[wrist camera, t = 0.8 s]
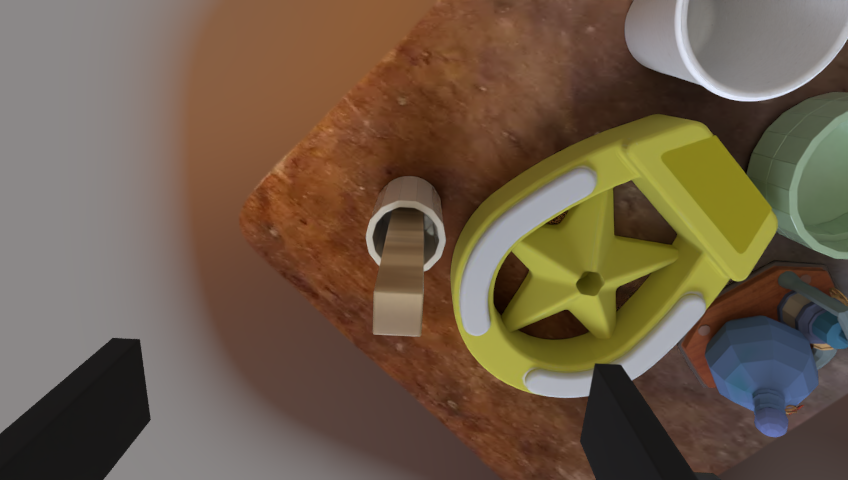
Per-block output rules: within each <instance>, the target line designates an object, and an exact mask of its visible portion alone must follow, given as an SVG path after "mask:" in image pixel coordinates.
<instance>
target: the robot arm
mask: <svg viewBox="0 0 848 480" xmlns="http://www.w3.org/2000/svg"><path fill="white" fill-rule="evenodd" d="M150 420H151V419H150V412H149V404H148V397H147V390H146V382H145V375H144V367H143V360H142V352H141V345H140V340H139V339H122V338H112V339H111V340H110V341H109V342H108V343H106V344H105V345H104V346H103V347H102V348H100V349H99V350H98V351H97V352H96V353H95V354H93V355H92V356H91V357H90V358H89V359H88V360H86V361H85V362H84V363H83V364H82V365H80V366H79V367H78V368H77V369H76V370H75V371H73V372H72V373H71V374H70V375H69V376H68V377H66V378H65V379H64V380H63V381H62V382H60V384H58V385H57V386H56V387H55V388H54V389H52V390H51V391H50V392H49V393H48V394H46V395H45V396H44V397H43V398H42V399H41V400H39V401H38V402H37V403H36V404H35V405H33V406H32V407H31V408H30V409H29V410H28V411H26V412H25V413H24V414H23V415H22V416H20V417H19V418H18V419H17V420H16V421H15V422H14V423H12V424H11V425H10V426H9V427H8V428H6V429H5V430H4V431H3V432H2V433H1V434H0V480H103V479H104V478H105V477H106V476H107V474H108V473H109V472H110V471H111V469H112V468H113V467H114V466H115V464H116V463H117V462H118V460H119V459H120V458H121V457H122V455H123V454H124V453H125V452H126V450H127V449H128V448H129V447H130V445H131V444H132V443H133V441H134V440H135V439H136V438H137V436H138V435H139V434H140V433H141V431H142V430H143V429H144V427H145V426H146V425H147V424H148V422H149V421H150ZM580 442H581V445H582V447H583V449H584V452H585V454H586V456H587V459H588V461H589V463H590V466H591V468H592V471H593V473H594V475H595V478H596V480H721V479H719V478H718V477H717V476H716V475H715V474H714V473H697V472H693V471H692V469H691V468H690V466H689V465H688V463H687V462H686V461H685V459H684V458H683V456H682V455H681V453H680V452H679V450H678V449H677V447H676V446H675V444H674V443H673V441H672V440H671V438H670V437H669V435H668V434H667V432H666V431H665V429H664V428H663V426H662V425H661V423H660V422H659V420H658V419H657V417H656V416H655V414H654V413H653V411H652V410H651V408H650V407H649V405H648V404H647V403H646V401H645V400H644V398H643V397H642V395H641V394H640V392H639V391H638V389H637V388H636V386H635V385H634V383H633V382H632V380H631V379H630V377H629V376H628V374H627V373H626V371H625V370H624V368H623V367H622V365H618V364H599V363H595V365H594V371H593V376H592V381H591V387H590V392H589V397H588V402H587V408H586V413H585V418H584V423H583V429H582V434H581V439H580Z"/></svg>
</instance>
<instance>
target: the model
mask: <svg viewBox="0 0 848 480" xmlns="http://www.w3.org/2000/svg"><path fill="white" fill-rule="evenodd" d="M844 301H846V302H847V304H848V299H847V298H846V297H845V296H844V295H843V294H842V293H841V292H840V291H839V290H837V289H836V287H835V285H834V282H833V280H832V278H831V275H830V273H829V271H828V269H827V266H826V265H824V264H812V263H798V262H784V261H773V262H771V263H769V264H767V265H765V266H764V267H762V268H760V269H758V270H756V271H754V272H752V273H751V274H749V276H748V277H747V278H746V279H745V280H743V281H738V282H737V281H736V282H734V283H732V284H730V285H728V286H727V287H725V288H723V289H722V291H721V292H720V293H719V294H718V296H717V297H716V298H715V299H714V301H713V302H712V303H711V305H710V306H709V307H708V308H707V310H706V311H705V313H704V314H703V316H702V317H701V318H700V319H699V320H698V321H697V322H696V324H695V325H694V326H693V327H692V328H691V329H690V330H689V331H688V332H687V333H686V334H685V335H684V336H683V338H682V339H681V340H680V341H679V342H678V343H677V345H678V347H679V349H680V351H681V353H682V354H683V356H684V358H685V360H686V362H687V364H688V365H689V367H690V369H691V370H692V372H693V373H694V374H695V376H696V377H697V379H698V380H699V382H700V383H701V385H702V386H703V387H712V388H718V390H719V393H720V394H721V395H723V396H725V397H726V398H728V399H729V400H731V401H733V402H735V403H737V404H739V405H742V406H744V407H746V408H748V409H750V410H752V411H754V415H755V421H754V423H755V426H756V428H757V429H759V430H760V431H761V432H762V433H763V434H765V435H766V436H771V437H779V436H781V435H784V434H785V433H786V432H787V427H788V419H787V417H786V414H789V415H790V414H792V413H797V410H799V409H800V408H801V407H803V406H804V405H801V406H798V407H796V405H798V404H799V403H800V402H801V401H802V400H803V399H804V398H806V397H807V396H808V395H809V394H810V393H811V392H812V391H813V390H814V389H815V388H816V387H817V385H818V371H817V370H818V369H820V368H821V367H823V366H824V365H825V364H827V363H828V362H829V361H830V360H831V359H832V358H833V357H834V355H835V354H836V351H837V349H845V348H847V347H848V305H847V304H846V303H845V302H844Z"/></svg>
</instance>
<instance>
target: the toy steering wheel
mask: <svg viewBox="0 0 848 480" xmlns="http://www.w3.org/2000/svg"><path fill="white" fill-rule="evenodd" d="M630 180H632V181H633V182H634V184H635V185H636V186H637V187H638V188H639V189H640V191H641V192H642V193H643V194H644V195H645V196H646V198H647V199H648V200H649V201H650V202H651V203H652V205H653V206H654V207H655V208H656V209H657V210H658V212H659V213H660V214H661V215H662V216H663V218H664V219H665V220H666V221H667V222H668V223H669V225H670V226H671V227H672V228H673V229H674V230H675V232H676V233H677V237H676V239H675V240H674V242H673V243H672V245H669V244H663V243H657V242H651V241H645V240H639V239H633V238H627V237H621V236H615V235H614V207H613V187H615V186H617V185H620V184H622V183H625V182H628V181H630ZM568 209H569V211H568V212H567V214H566V216H565V217H564V219H563V220H562V221H561V223H559V224H557V225H550V224H545V223H547V222H548V221H550V220H552V219H553V218H555V217H557V216H558V215H560V214H562V213H563V212H565V211H567V210H568ZM777 228H778V220H777V217H776V215H775V214H774V212H773V211H772V207H771V206H770V204H769V203H768V202H767V201H766V199H765V198H764V197H763V195H762V194H761V193H760V192H759V190H758V189H757V188H756V186H755V185H754V184H753V183H752V181H751V180H750V179H749V177H748V176H747V175H746V174H745V172H744V171H743V170H742V168H741V167H740V166H739V165H738V163H737V162H736V161H735V159H734V158H733V157H732V156H731V154H730V153H729V152H728V150H727V149H726V148H725V147H724V145H723V144H722V143H721V141H720V140H719V139H718V138H717V136H716V135H713V134H712V133H711V131H710V130H709V129H708V128H707V126H706V125H704V124H703V123H701V122H698V121H693V120H688V119H683V118H677V117H672V116H667V115H662V114H654V115H650V116H647V117H644V118H642V119H639V120H636V121H633V122H630V123H627V124H624V125H621V126H618V127H615V128H612V129H609V130H606V131H604V132H601V133H599V134H596V135H594V136H591V137H589V138H586V139H584V140H582V141H580V142H578V143H576V144H573V145H571V146H569V147H567V148H565V149H563V150H561V151H559V152H557V153H555V154H553V155H552V156H550V157H548V158H546V159H544V160H543V161H541V162H539V163H537V164H536V165H534V166H532V167H531V168H529V169H527V170H526V171H524V172H523V173H521V174H520V175H518V176H517V177H515V178H514V179H512V180H511V181H509V182H508V183H506V184H505V185H504V186H502V187H501V188H500V189H498V190H497V191H496V192H494V193H493V194H492V195H490V196H489V197H488V198H487V199H486V200H485V201H484V202H483V203H482V204H481V205H480V206H479V207H478V208H477V209H476V211H475V212H474V213H473V214H472V216H471V217H470V218H469V220H468V221H467V223H466V225H465V226H464V228H463V230H462V232H461V234H460V236H459V238H458V241H457V243H456V246H455V250H454V253H453V258H452V264H451V277H450V278H451V291H452V299H453V307H454V313H455V319H456V322H457V325H458V329H459V331H460V334H461V336H462V338H463V340H464V342H465V344H466V346H467V347H468V349H469V350H470V352H471V353H472V355H473V356H474V357H475V358H476V360H477V361H478V362H479V363H480V364H481V365H482V366H483V367H484V368H485V369H486V370H487V371H489V372H490V373H491V374H493V375H494V376H495V377H497V378H498V379H500V380H502V381H503V382H505V383H506V384H509V385H511V386H513V387H515V388H517V389H520V390H523V391H526V392H529V393H533V394H538V395H542V396H549V397H561V398H571V397H583V396H589V392H590V387H591V381H592V376H593V371H594V365H595V363H599V364H618V365H622V367H623V368H624V370H625V371H626V373H627V374H628V376H629V377H630V379H631V380H633V379H635V378H637V377H638V376H640V375H641V374H643V373H644V372H646V371H647V370H648V369H649V368H651V367H652V366H653V365H654V364H655V363H656V362H657V361H659V360H660V359H661V358H662V357H663V356H664V355H665V354H666V353H667V352H668V351H669V350H670V349H671V348H672V347H674V346H675V345H676V344H677V343H678V342H679V341H680V340H681V339H682V338H683V336H684V335H685V334H686V333H687V332H688V331H689V330H690V329H691V328H692V327H693V326H694V325H695V324H696V322H697V321H698V320H699V319H700V318H701V317H702V316H703V314H704V313H705V311H706V310H707V308H708V307H709V306H710V305H711V303H712V302H713V301H714V299H715V298H716V297H717V296H718V294H719V293H720V292H721V291H722V289H723V288H724V286H725V285H726V284H727V282H728V281H729V280H730V279H732V280H733V281H737V282H738V281H743V280H745V279H746V278H747V277H748V276H749V274H750V273H751V271H752V269H753V268H754V266H755V265H756V263H757V262H758V260H759V258H760V257H761V255H762V254H763V252H764V250H765V249H766V247H767V246H768V244H769V243H770V241H771V239H772V238H773V236H774V235H775V233H776V231H777ZM511 251H512V252H513V253H514V254H515V255H516V256H517V257H518V258H519V259H520V260H521V261H522V262H523V264H524V265H525V266H526V267H527V268H528V269H529V273H528V275H527V276H526V278H525V279H524V281H523V283H522V284H521V286H520V287H519V289H518V290H517V292H516V294H515V295H514V297H513V298H512V300H511V301H510V303H509V304H508V306H507V308H506V309H505V311H504V312H503V314H502V315H500V314H499V312H498V311H497V310H496V308H495V306H494V304H493V291H494V285H495V280H496V277H497V274H498V271H499V269H500V267H501V265H502V263H503V262H504V260H505V258H506V257H507V255H508V254H509V253H510V252H511ZM649 273H651V274H650V276H649V277H648V278H647V279H646V280H645V282H644V283H643V284H642V285H641V286H640V288H639V289H638V290H637V291H636V292H635V293H634V294H633V295H632V297H631V298H630V299H629V300H628V301H627V302H626V303H625V304H624V305H623V306H622V307H621V308H620V309H619V310H618V311H617V312H616V289H617V288H618V287H619V286H621V285H624V284H626V283H628V282H631V281H633V280H635V279H638V278H640V277H642V276H645V275H647V274H649ZM562 310H569V311H570V312H571V313H572V314H573V315H574V316H575V317H576V318H577V319H578V320H579V321H580V322H581V323H582V324H583V325H584V326H585V327H586V328H587V329H588V330H589V331H590V332H588V333H586V334H583V335H580V336H577V337H573V338H568V339H559V340H550V339H541V338H536V337H533V336H530V335H527V334H525V333H523V332H521V331H519V330H518V329H520V328H522V327H525V326H527V325H529V324H532V323H534V322H536V321H539V320H541V319H544V318H546V317H548V316H551V315H553V314H555V313H558V312H560V311H562Z"/></svg>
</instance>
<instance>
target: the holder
mask: <svg viewBox="0 0 848 480" xmlns="http://www.w3.org/2000/svg"><path fill="white" fill-rule="evenodd" d="M399 207H408V208H416V209H418V210H420V211H422V212H424V271H426V270H429V269H430V268H431V267H432V266H433V265H434V264H435V263H436V262H437V261H438V260H439V259H440V257H441V255H442V252H443V249H444V246H445V243H446V236H445V229H444V221H443V213H442V206H441V200H440V196H439V195H438V193H437V191H436V190H435V188H434V187H433V186H432V185H431V184H430V183H428V182H427V181H425V180H424V179H421V178H419V177H414V176H404V177H399V178H396V179H394V180H392V181H391V182H389V183H388V184H387V185H386V186H385V187H384V188H383V189H382V191H381V192H380V194H379V196H378V199H377V202H376V204H375V207H374V210H373V213H372V216H371V218H370V221H369V225H368V229H367V233H366V242H367V246H368V251H369V254H370V255H371V256H372V258H373V259H374V260H375V261H376V263H377V264H378V265H379V266H380V262H381V257H382V253H383V249H384V244H385V240H386V235H387V231H388V226H389V222H390V217H391V213H392V210H394V209H396V208H399Z"/></svg>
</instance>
